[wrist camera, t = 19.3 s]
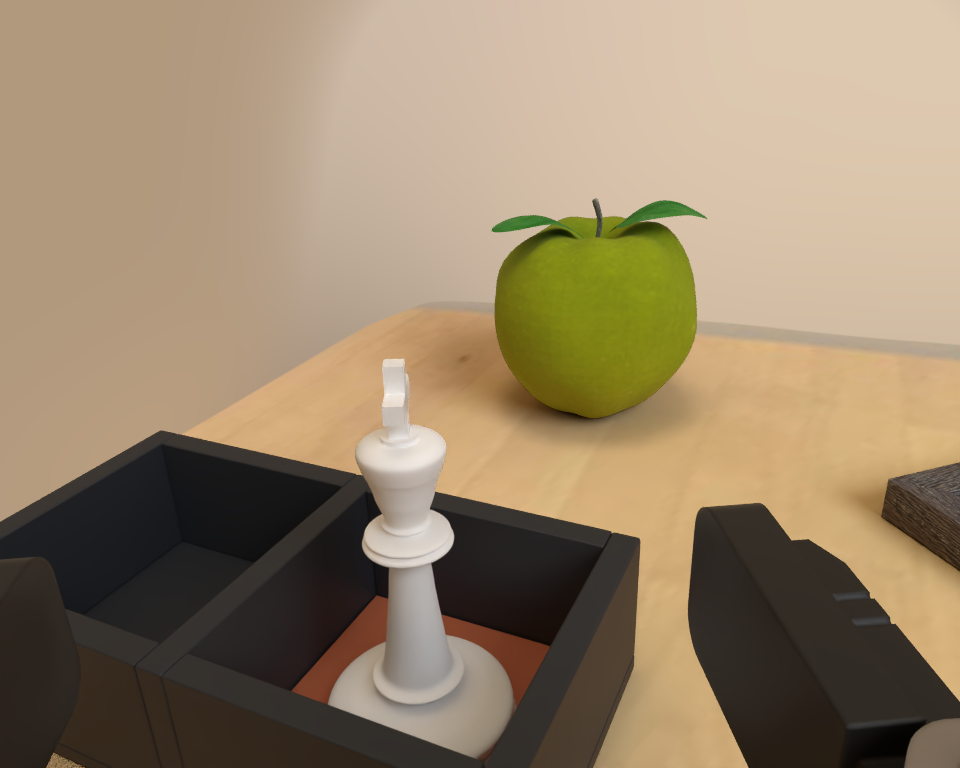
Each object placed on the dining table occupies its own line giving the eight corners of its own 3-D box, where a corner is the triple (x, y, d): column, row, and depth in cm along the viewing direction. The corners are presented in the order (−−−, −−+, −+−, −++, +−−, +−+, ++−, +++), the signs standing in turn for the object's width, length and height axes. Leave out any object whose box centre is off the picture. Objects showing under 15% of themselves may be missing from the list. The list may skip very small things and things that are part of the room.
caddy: (-47, 705, 23) (-98, 576, 21) (183, 536, 30) (160, 429, 29) (512, 969, 16) (507, 810, 14) (633, 667, 24) (641, 536, 22)
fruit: (703, 451, 35) (724, 220, 31) (488, 446, 36) (481, 222, 32) (679, 368, 43) (692, 178, 39) (505, 366, 44) (500, 181, 40)
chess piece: (512, 647, 23) (505, 319, 19) (522, 796, 19) (516, 409, 15) (341, 653, 23) (298, 326, 19) (311, 804, 19) (247, 419, 15)
